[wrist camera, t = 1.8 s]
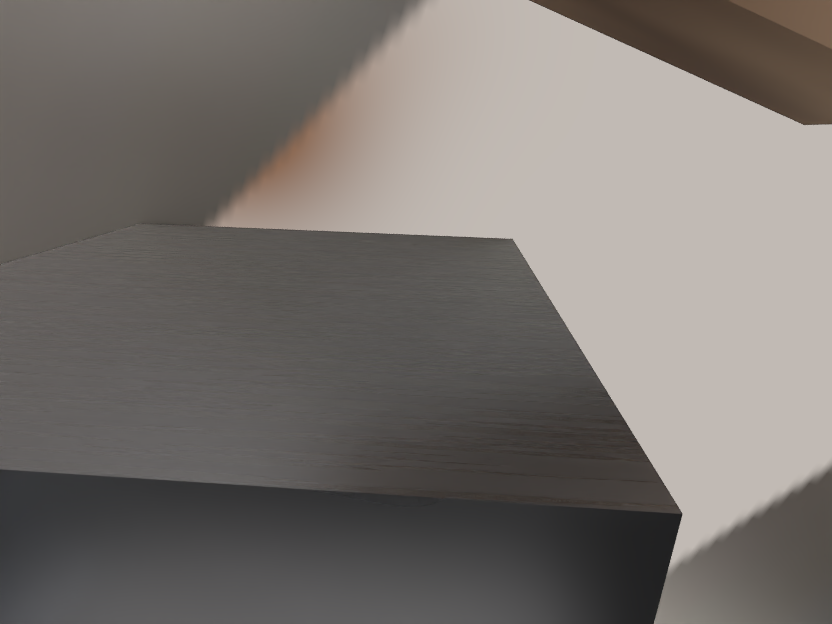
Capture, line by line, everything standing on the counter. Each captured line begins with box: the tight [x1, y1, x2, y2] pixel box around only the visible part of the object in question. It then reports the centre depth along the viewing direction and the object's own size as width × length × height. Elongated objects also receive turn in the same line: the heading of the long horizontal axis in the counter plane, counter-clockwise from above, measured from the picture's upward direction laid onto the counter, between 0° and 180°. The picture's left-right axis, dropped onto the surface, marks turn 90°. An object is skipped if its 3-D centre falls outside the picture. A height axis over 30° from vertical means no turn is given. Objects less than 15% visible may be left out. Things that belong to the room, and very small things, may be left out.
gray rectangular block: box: [0, 224, 682, 624], centre depth 6 cm, size 6×8×6 cm
